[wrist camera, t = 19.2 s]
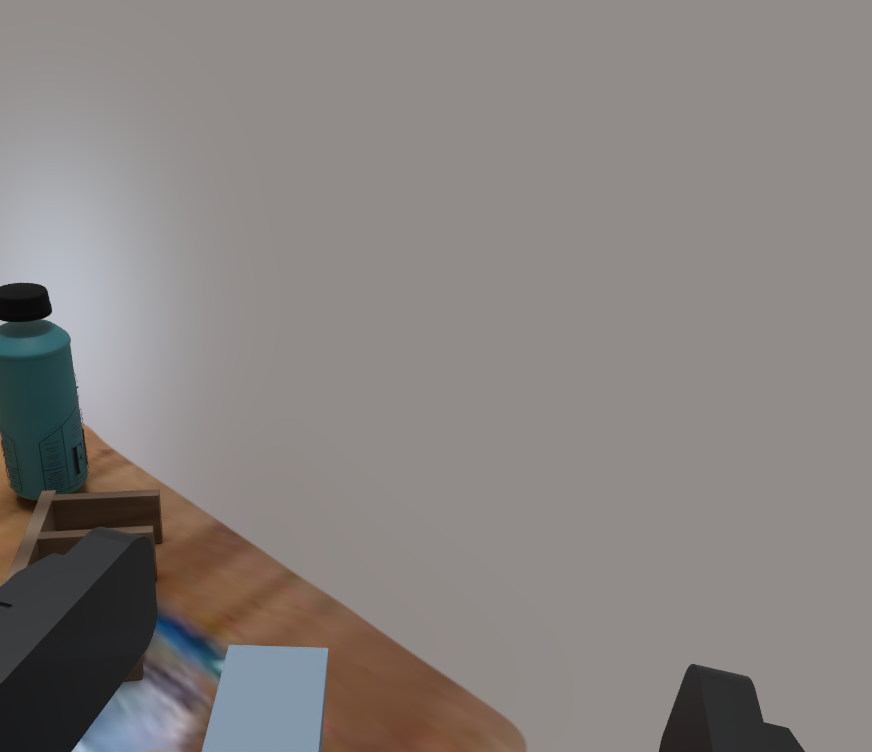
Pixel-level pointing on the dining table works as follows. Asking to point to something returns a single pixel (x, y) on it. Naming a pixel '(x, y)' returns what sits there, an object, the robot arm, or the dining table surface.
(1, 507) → the dining table surface
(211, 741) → the board
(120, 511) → the rack
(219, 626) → the dining table surface
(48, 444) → the beverage bottle
